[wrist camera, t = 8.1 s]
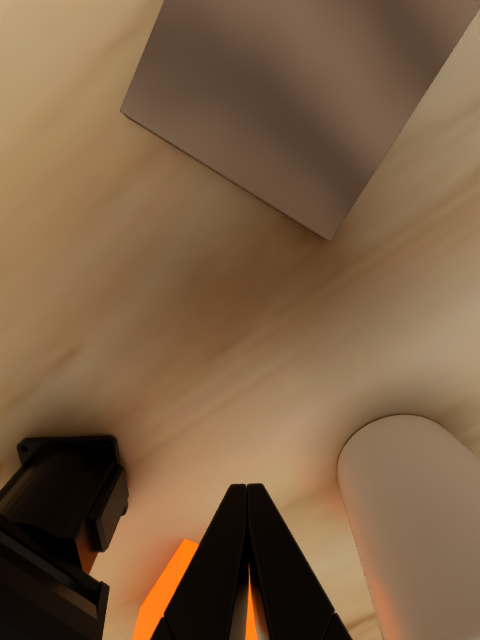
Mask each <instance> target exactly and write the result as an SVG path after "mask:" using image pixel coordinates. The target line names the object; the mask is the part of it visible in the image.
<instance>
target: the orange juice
mask: <svg viewBox="0 0 480 640" xmlns="http://www.w3.org/2000/svg"><path fill="white" fill-rule="evenodd" d="M198 546H199V544H196V543H194V542H191V541H189V540H186V539H184V540H183V542H182V543H181V545H180V547H179V548H178V550H177V551H176V553H175V554H174V556H173V558H172V559H171V561H170V562H169V564H168V565H167V567H166V569H165V570H164V572H163V573H162V575H161V576H160V578H159V579H158V581H157V583H156V584H155V586H154V587H153V589H152V590H151V592H150V594H149V595H148V597H147V598H146V600H145V601H144V603H143V604H142V606H141V608H140V612H139V615H138V619H137V623H136V627H135V631H134V635H133V639H132V640H150V638H151V636H152V634H153V632H154V630H155V628H156V626H157V624H158V622H159V620H160V619H161V617H164V615H163V614H164V611H165V609H166V607H167V605H168V603H169V602H170V600H171V598H172V596H173V594H174V592H175V590H176V588H177V586H178V584H179V582H180V580H181V578H182V577H183V575H184V573H185V571H186V569H187V567H188V565H189V563H190V561H191V559H192V557H193V555H194V553H195V552H196V550H197V548H198ZM245 640H257V637H256V630H255V622H254V614H253V607H252V599H251V590H250V576H249V598H248V611H247V624H246V638H245Z"/></svg>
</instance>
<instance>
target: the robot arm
mask: <svg viewBox="0 0 480 640" xmlns="http://www.w3.org/2000/svg"><path fill="white" fill-rule="evenodd" d="M106 443H109V444H110V445H107V444H106ZM26 446H27V447H28V448H27V447H26ZM17 451H18V454H19V458H20V461H21V464H22V466H21V467H20V469H19V470H18V471H17V472H16V473H15V474H14V475H13V477H12V478H11V479H10V480H9V481H8V482H7V483H6V485H5V486H4V487H3V488H2V489H1V490H0V640H102V635H103V629H104V622H105V615H106V609H107V602H108V595H109V588H110V586H108V585H107V584H105V583H104V582H102V581H101V582H99V581H97V580H96V579H94V578H93V577H92V576H90V575H89V573H90V571H91V569H92V566H93V564H94V561H95V559H96V557H97V554H98V552H105V551H106V550H107V548H108V547H109V544H110V542H111V539H112V537H113V534H114V532H115V529H116V527H117V524H118V522H119V519H120V517H121V516H123V515H125V514H126V512H127V509H128V502H127V499H128V497H129V493H128V487H127V481H126V476H125V470H124V467H123V466H122V465H121V463H120V458H119V452H118V447H117V442H116V439H115V438H113V437H111V436H89V437H56V438H26V439H23V440H22V441H21V442H20V443H19V444H18V445H17ZM249 576H250V590H251V599H252V607H253V614H254V622H255V630H256V637H257V640H353V639H352V638H351V636H350V634H349V633H348V631H347V629H346V628H345V626H344V624H343V622H342V621H341V619H340V617H339V615H338V614H337V613H335V609H334V607H333V605H332V604H331V602H330V600H329V598H328V597H327V595H326V593H325V591H324V590H323V588H322V586H321V584H320V583H319V581H318V579H317V577H316V576H315V574H314V572H313V570H312V569H311V567H310V565H309V563H308V562H307V560H306V558H305V556H304V555H303V553H302V551H301V549H300V548H299V546H298V544H297V542H296V541H295V539H294V537H293V535H292V534H291V532H290V530H289V529H288V527H287V525H286V523H285V522H284V520H283V518H282V516H281V515H280V513H279V511H278V509H277V508H276V506H275V504H274V502H273V501H272V499H271V497H270V495H269V494H268V492H267V490H266V488H265V487H264V485H263V484H261V483H252V484H248V485H247V487H246V485H245V484H231V485H230V486H229V488H228V490H227V492H226V494H225V496H224V498H223V500H222V502H221V503H220V505H219V507H218V509H217V511H216V513H215V515H214V517H213V519H212V521H211V523H210V525H209V527H208V528H207V530H206V532H205V534H204V536H203V538H202V540H201V542H200V544H199V546H198V548H197V550H196V552H195V553H194V555H193V557H192V559H191V561H190V563H189V565H188V567H187V569H186V571H185V573H184V575H183V577H182V578H181V580H180V582H179V584H178V586H177V588H176V590H175V592H174V594H173V596H172V598H171V600H170V602H169V603H168V605H167V607H166V609H165V611H164V614H163V615H164V617H161V619H160V620H159V622H158V624H157V626H156V628H155V630H154V632H153V634H152V636H151V638H150V640H245V638H246V624H247V611H248V598H249Z"/></svg>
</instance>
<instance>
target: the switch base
mask: <svg viewBox="0 0 480 640" xmlns="http://www.w3.org/2000/svg"><path fill="white" fill-rule="evenodd" d="M479 9H480V0H164V2H163V5H162V7H161V10H160V12H159V15H158V17H157V20H156V22H155V24H154V27H153V29H152V32H151V34H150V37H149V39H148V42H147V44H146V47H145V49H144V52H143V54H142V57H141V59H140V62H139V64H138V67H137V69H136V72H135V74H134V76H133V79H132V81H131V84H130V86H129V89H128V91H127V94H126V96H125V99H124V101H123V104H122V106H121V109H120V112H121V113H123V114H124V115H125V116H126V117H127V118H129V119H131V120H132V121H134V122H135V123H137V124H139V125H140V126H142V127H144V128H145V129H147V130H148V131H150V132H152V133H153V134H155V135H156V136H158V137H160V138H161V139H163V140H165V141H166V142H168V143H169V144H171V145H173V146H174V147H176V148H178V149H179V150H181V151H182V152H184V153H186V154H187V155H189V156H190V157H192V158H194V159H195V160H197V161H199V162H200V163H202V164H203V165H205V166H207V167H208V168H210V169H211V170H213V171H215V172H216V173H218V174H220V175H221V176H223V177H224V178H226V179H228V180H229V181H231V182H232V183H234V184H236V185H237V186H239V187H241V188H242V189H244V190H245V191H247V192H249V193H250V194H252V195H253V196H255V197H257V198H258V199H260V200H262V201H263V202H265V203H266V204H268V205H270V206H271V207H273V208H275V209H276V210H278V211H279V212H281V213H283V214H284V215H286V216H287V217H289V218H291V219H292V220H294V221H296V222H297V223H299V224H300V225H302V226H304V227H305V228H307V229H308V230H310V231H312V232H313V233H315V234H317V235H318V236H320V237H321V238H323V239H325V240H327V241H331V239H332V237H333V236H334V234H335V233H336V231H337V230H338V228H339V227H340V225H341V223H342V222H343V220H344V219H345V217H346V216H347V214H348V213H349V211H350V209H351V208H352V206H353V205H354V203H355V202H356V200H357V199H358V197H359V195H360V194H361V192H362V191H363V189H364V188H365V186H366V185H367V183H368V181H369V180H370V178H371V177H372V175H373V174H374V172H375V171H376V169H377V167H378V166H379V164H380V163H381V161H382V160H383V158H384V157H385V155H386V153H387V152H388V150H389V149H390V147H391V146H392V144H393V143H394V141H395V139H396V138H397V136H398V135H399V133H400V132H401V130H402V129H403V127H404V125H405V124H406V122H407V121H408V119H409V118H410V116H411V115H412V113H413V111H414V110H415V108H416V107H417V105H418V104H419V102H420V100H421V99H422V97H423V96H424V94H425V93H426V91H427V90H428V88H429V86H430V85H431V83H432V82H433V80H434V79H435V77H436V76H437V74H438V72H439V71H440V69H441V68H442V66H443V65H444V63H445V62H446V60H447V58H448V57H449V55H450V54H451V52H452V51H453V49H454V48H455V46H456V44H457V43H458V41H459V40H460V38H461V37H462V35H463V34H464V32H465V30H466V29H467V27H468V26H469V24H470V23H471V21H472V20H473V18H474V16H475V15H476V13H477V12H478V10H479Z"/></svg>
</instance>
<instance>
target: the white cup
mask: <svg viewBox="0 0 480 640" xmlns="http://www.w3.org/2000/svg"><path fill="white" fill-rule="evenodd" d="M337 477H338V483H339V487H340V491H341V495H342V499H343V502H344V506H345V509H346V513H347V516H348V520H349V523H350V527H351V530H352V534H353V537H354V541H355V544H356V548H357V551H358V555H359V558H360V562H361V565H362V569H363V572H364V576H365V579H366V583H367V586H368V590H369V593H370V596H371V600H372V603H373V607H374V610H375V614H376V617H377V621H378V624H379V628H380V631H381V635H382V638H383V640H480V459H479V458H478V457H477V456H476V455H475V454H474V453H473V452H471V451H470V450H469V449H468V448H467V447H466V446H465V445H464V444H463V443H461V442H460V441H459V440H458V439H457V438H456V437H455V436H453V435H452V434H451V433H450V432H449V431H448V430H446V429H445V428H444V427H442V426H441V425H439V424H438V423H436V422H434V421H432V420H430V419H427V418H424V417H420V416H415V415H395V416H389V417H385V418H381V419H379V420H376V421H374V422H372V423H370V424H368V425H366V426H364V427H363V428H361V429H360V430H359V431H357V432H356V433H355V434H354V435H353V436H352V437H351V438H350V439H349V440H348V442H347V443H346V444H345V446H344V448H343V449H342V451H341V454H340V456H339V460H338V464H337Z"/></svg>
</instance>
